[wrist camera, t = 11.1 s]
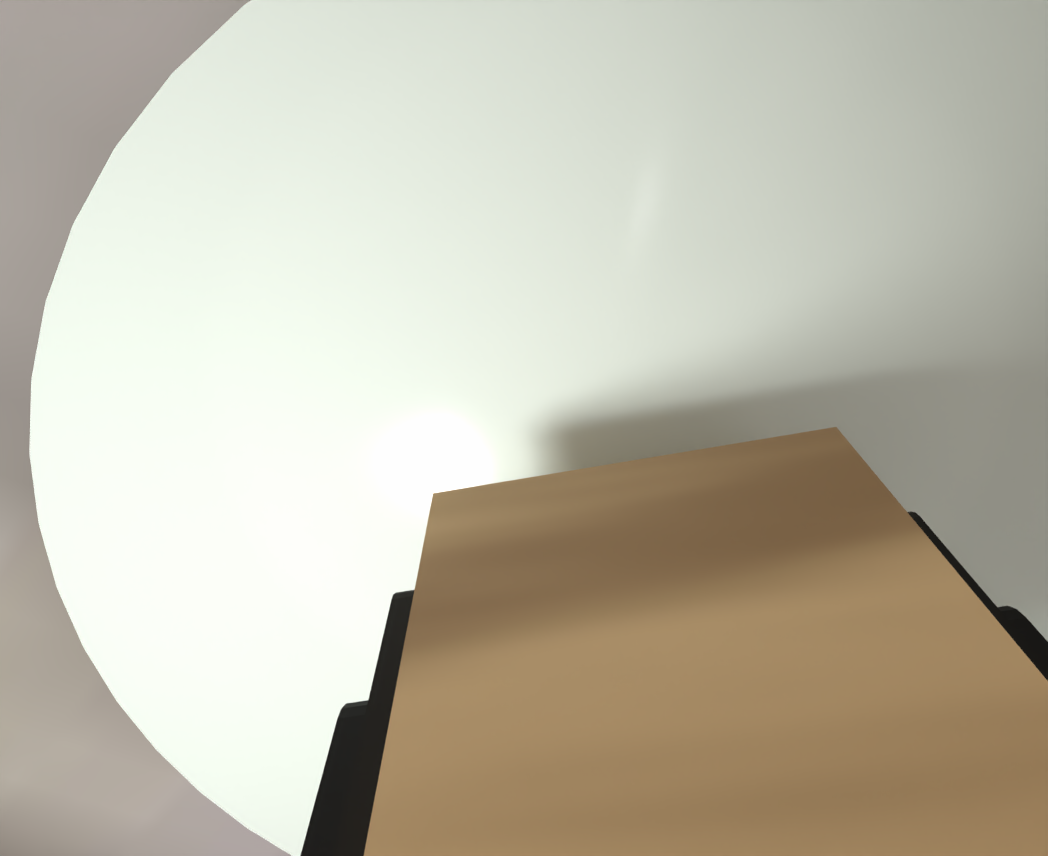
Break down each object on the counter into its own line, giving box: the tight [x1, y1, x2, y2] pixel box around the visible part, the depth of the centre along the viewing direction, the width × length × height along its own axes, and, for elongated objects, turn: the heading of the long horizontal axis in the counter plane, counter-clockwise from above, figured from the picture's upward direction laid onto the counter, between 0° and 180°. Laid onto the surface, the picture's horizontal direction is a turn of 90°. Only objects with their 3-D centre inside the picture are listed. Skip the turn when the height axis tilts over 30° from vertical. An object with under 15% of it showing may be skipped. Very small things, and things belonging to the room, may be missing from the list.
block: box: [364, 427, 1048, 856], centre depth 8 cm, size 5×5×6 cm
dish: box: [30, 0, 1048, 856], centre depth 13 cm, size 18×18×1 cm
